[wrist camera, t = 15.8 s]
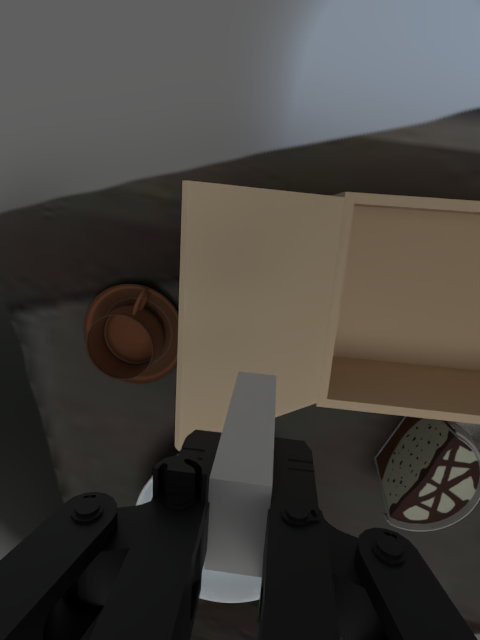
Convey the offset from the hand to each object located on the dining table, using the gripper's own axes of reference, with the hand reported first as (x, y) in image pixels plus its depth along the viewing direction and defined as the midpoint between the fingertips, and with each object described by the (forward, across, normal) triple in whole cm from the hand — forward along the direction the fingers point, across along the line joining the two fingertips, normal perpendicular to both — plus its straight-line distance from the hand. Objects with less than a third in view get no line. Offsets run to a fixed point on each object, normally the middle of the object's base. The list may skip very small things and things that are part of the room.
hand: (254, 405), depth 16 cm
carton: (+30, -19, 0) cm, 36 cm away
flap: (+14, 0, 0) cm, 14 cm away
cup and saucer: (+31, +15, +8) cm, 35 cm away
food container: (+31, -19, +18) cm, 40 cm away
